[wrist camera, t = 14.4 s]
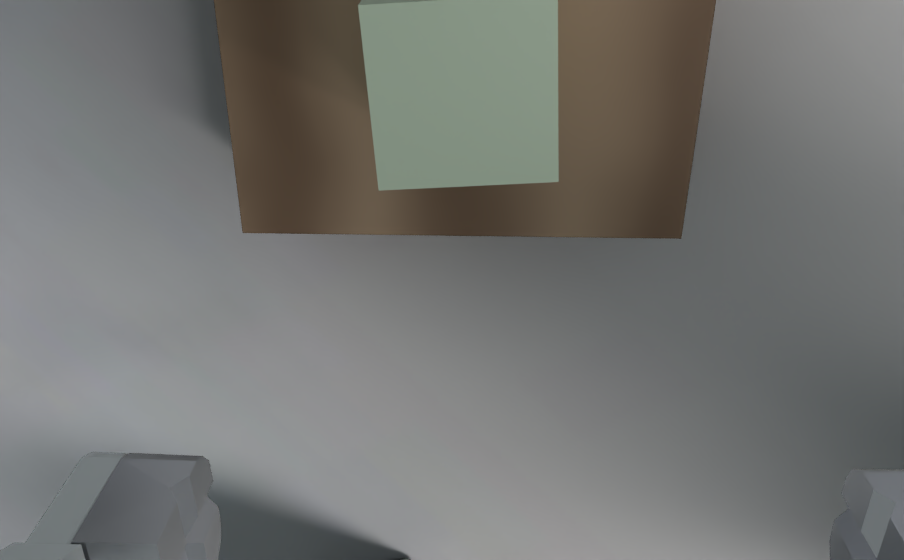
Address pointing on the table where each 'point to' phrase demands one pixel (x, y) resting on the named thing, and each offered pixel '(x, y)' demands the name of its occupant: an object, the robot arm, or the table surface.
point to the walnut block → (470, 207)
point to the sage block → (462, 91)
